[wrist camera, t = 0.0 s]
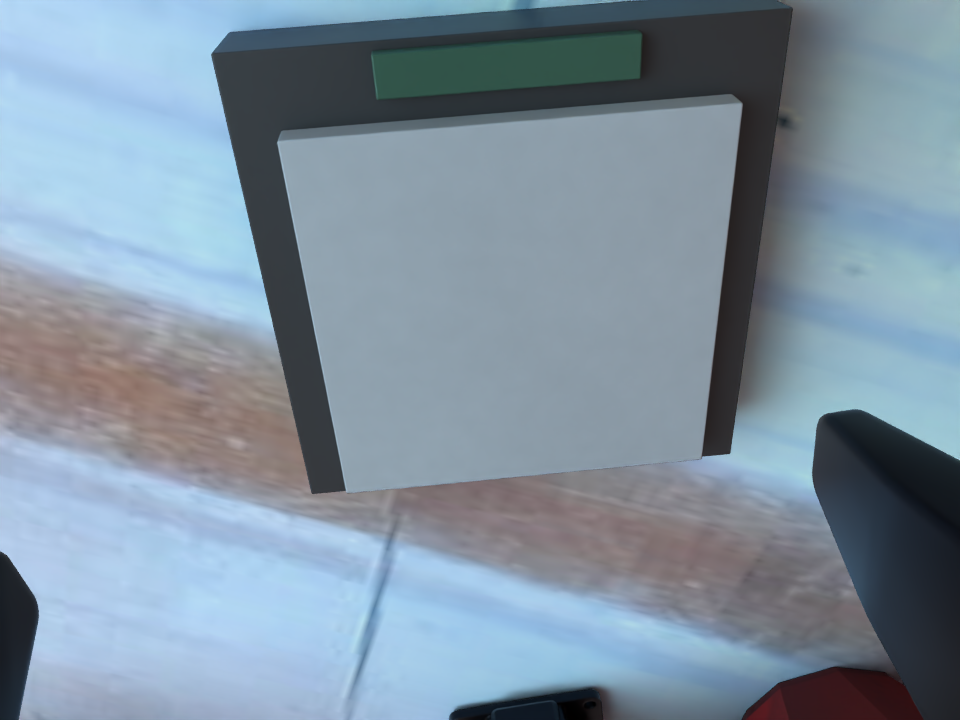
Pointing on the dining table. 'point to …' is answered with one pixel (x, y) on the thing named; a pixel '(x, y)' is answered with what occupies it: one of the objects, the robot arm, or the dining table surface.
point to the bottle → (837, 698)
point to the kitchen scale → (509, 231)
